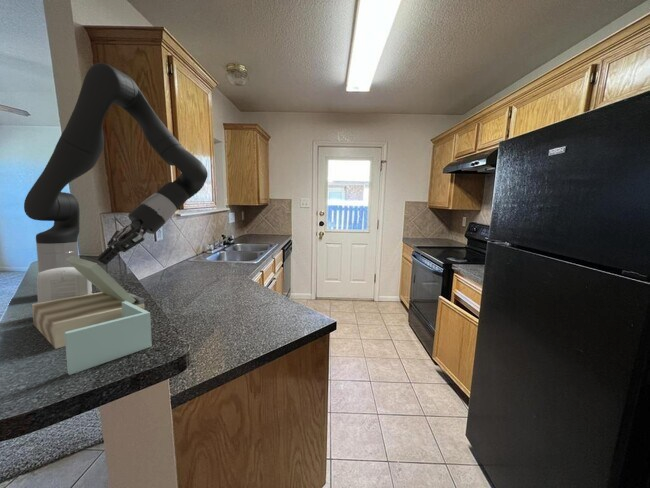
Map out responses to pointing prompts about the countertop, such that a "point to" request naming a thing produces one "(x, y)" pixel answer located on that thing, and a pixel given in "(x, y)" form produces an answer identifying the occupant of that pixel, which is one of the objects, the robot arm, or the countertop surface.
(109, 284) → the sage green flat slab
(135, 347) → the l-shaped corner panel
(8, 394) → the countertop surface
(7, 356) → the countertop surface
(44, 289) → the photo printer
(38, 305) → the block
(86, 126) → the robot arm
